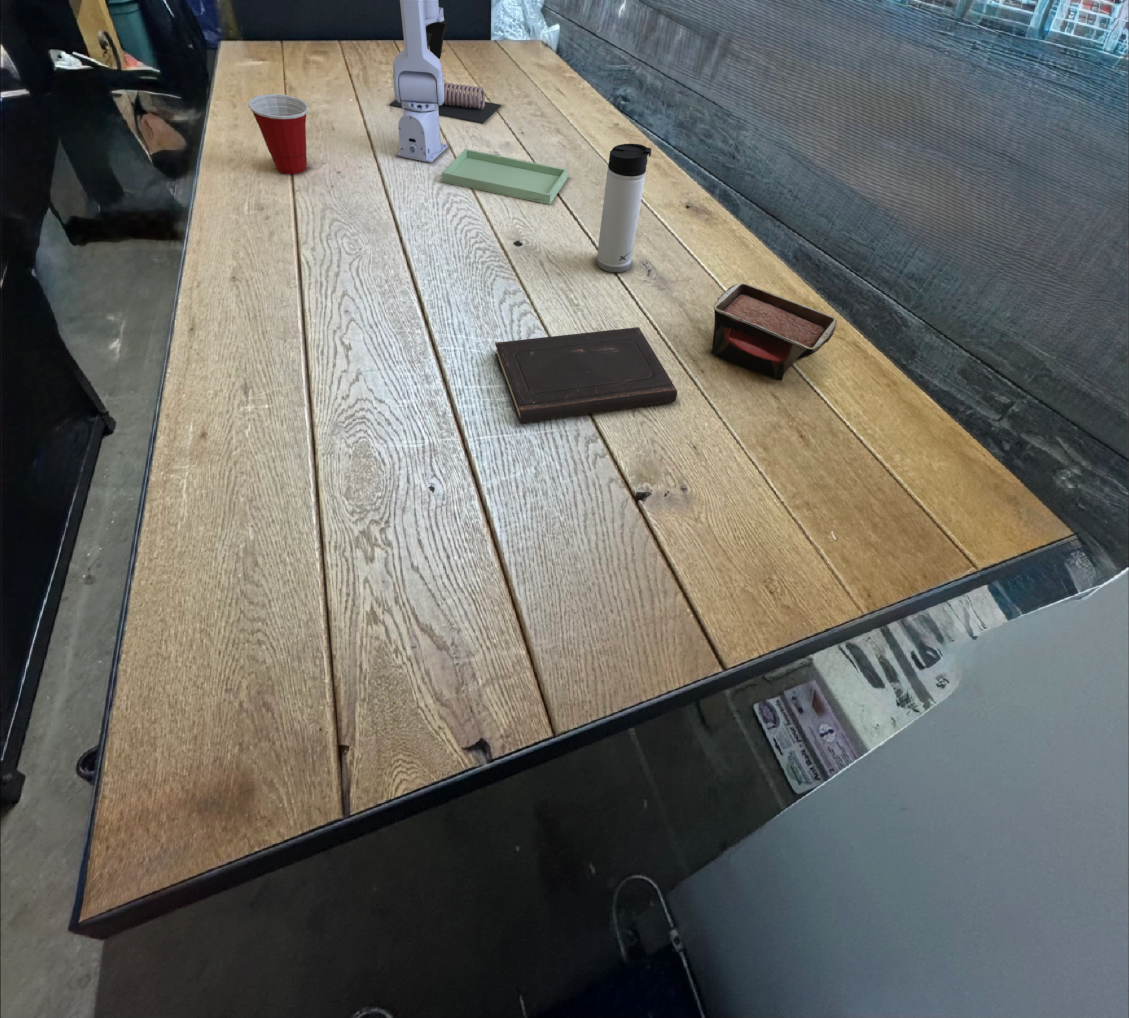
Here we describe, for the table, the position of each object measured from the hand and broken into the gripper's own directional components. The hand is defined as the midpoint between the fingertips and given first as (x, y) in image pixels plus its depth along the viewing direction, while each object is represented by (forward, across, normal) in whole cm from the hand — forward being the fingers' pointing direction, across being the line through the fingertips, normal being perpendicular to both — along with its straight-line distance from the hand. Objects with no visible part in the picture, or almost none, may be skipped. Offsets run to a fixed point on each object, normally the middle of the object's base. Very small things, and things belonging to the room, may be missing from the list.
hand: (429, 62), depth 153 cm
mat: (+9, +2, -3) cm, 10 cm away
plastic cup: (+10, -45, +11) cm, 47 cm away
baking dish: (+10, -71, -87) cm, 113 cm away
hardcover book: (+10, -88, -62) cm, 108 cm away
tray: (+9, -30, -30) cm, 44 cm away
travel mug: (+10, -54, -59) cm, 81 cm away
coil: (+9, +2, -3) cm, 10 cm away
